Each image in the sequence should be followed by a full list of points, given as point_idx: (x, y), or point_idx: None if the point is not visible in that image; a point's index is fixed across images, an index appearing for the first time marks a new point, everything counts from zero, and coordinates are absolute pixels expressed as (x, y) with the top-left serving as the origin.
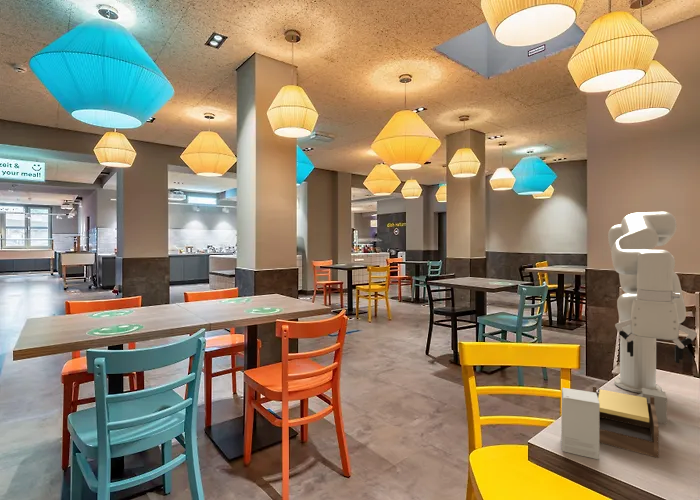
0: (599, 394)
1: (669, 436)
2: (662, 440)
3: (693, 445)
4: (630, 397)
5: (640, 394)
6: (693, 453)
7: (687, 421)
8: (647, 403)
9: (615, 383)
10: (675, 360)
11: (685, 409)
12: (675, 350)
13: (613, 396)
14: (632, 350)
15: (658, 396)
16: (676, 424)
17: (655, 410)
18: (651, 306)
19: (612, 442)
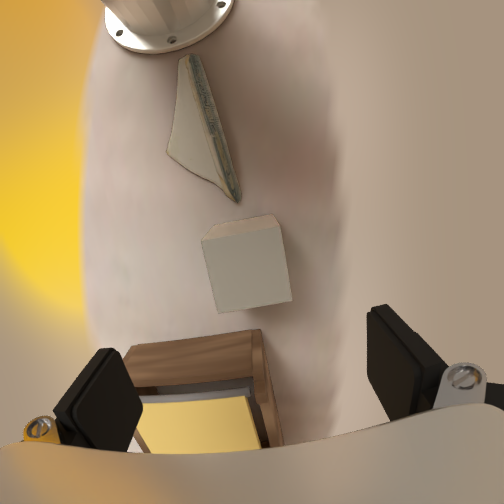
0: (144, 439)
1: (294, 348)
2: (283, 378)
3: (337, 356)
4: (208, 419)
5: (184, 80)
6: (335, 391)
7: (325, 201)
8: (246, 376)
9: (110, 33)
10: (370, 368)
11: (311, 93)
12: (397, 410)
13: (173, 436)
14: (128, 434)
15: (267, 304)
16: (303, 252)
17: (275, 429)
18: None
19: None
